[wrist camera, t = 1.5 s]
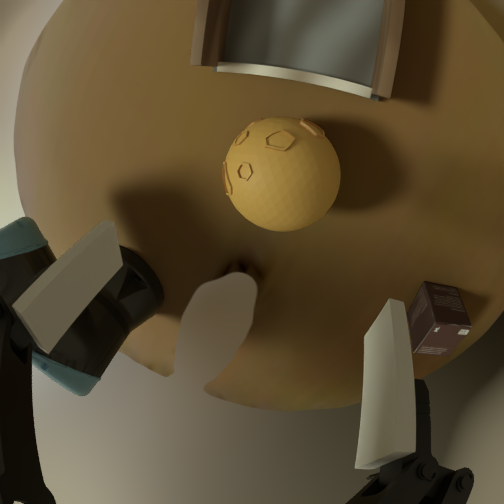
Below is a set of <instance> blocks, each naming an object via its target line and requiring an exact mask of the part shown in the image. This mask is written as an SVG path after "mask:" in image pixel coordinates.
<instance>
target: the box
mask: <svg viewBox="0 0 504 504" xmlns="http://www.w3.org/2000/svg"><path fill="white" fill-rule="evenodd" d="M407 315H408V320H409V327H410V332H411V339H412V346H413V353H414V354H424V355H435V356H447V357H449V355H450V354H451V353H452V352H453V351H454V349H455V348H456V347H457V346H458V344H459V343H460V342H461V341H462V339H463V338H464V337H465V336H466V334H467V333H468V332H469V330H470V329H471V327H472V326H471V323H470V321H469V317H468V315H467V312H466V309H465V307H464V304H463V302H462V299H461V297H460V294H459V292H458V289H457V288H454V287H449V286H444V285H438V284H433V283H428V282H423V284H422V286H421V288H420V290H419V292H418V294H417V296H416V297H415V299H414V301H413V303H412V305H411V307H410V308H409V310H408V312H407Z"/></svg>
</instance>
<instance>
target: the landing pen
mask: <svg viewBox="0 0 504 504" xmlns="http://www.w3.org/2000/svg"><path fill="white" fill-rule="evenodd" d="M404 9H405V0H198V4H197V10H196V17H195V24H194V32H193V40H192V49H191V59H190V65H194V66H212V67H213V71H219V72H234V73H245V74H255V75H263V76H271V77H278V78H284V79H290V80H296V81H302V82H307V83H312V84H316V85H321V86H325V87H330V88H334V89H338V90H342V91H346V92H349V93H353V94H357V95H360V96H363V97H367V98H370V99H373V100H377V101H378V99H379V96H380V97H385V98H389V99H390V96H391V92H392V87H393V82H394V77H395V71H396V66H397V60H398V54H399V48H400V42H401V35H402V27H403V19H404Z"/></svg>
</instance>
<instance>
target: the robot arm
mask: <svg viewBox="0 0 504 504" xmlns="http://www.w3.org/2000/svg"><path fill="white" fill-rule="evenodd" d="M162 303H163V291H162V287H161V285H160V282H159V280H158V279H157V277H156V275H155V274H154V272H153V271H152V270H151V269H150V267H149V266H148V265H147V264H146V263H145V262H144V261H143V260H142V259H141V258H139V257H138V256H137V255H135V254H134V253H132V252H131V251H129V250H127V249H125V248H123V247H120V246H119V242H118V236H117V230H116V224H115V222H112V221H108V220H105V219H104V220H103V221H102V222H100V223H99V224H98V225H97V226H96V227H94V228H93V229H92V230H91V231H89V232H88V233H87V234H86V235H85V236H84V237H82V238H81V239H80V240H79V241H78V242H77V243H75V244H74V245H73V246H72V247H71V248H70V249H69V250H67V251H66V252H65V253H64V254H63V255H62V256H61V257H60V258H59V259H58V260H57V259H56V257H55V256H54V254H53V252H52V250H51V249H50V247H49V245H48V241H47V240H46V239H45V238H44V236H43V235H42V233H41V231H40V230H39V228H38V226H37V224H36V223H35V221H34V220H33V219H31V218H29V217H22V218H19V219H18V220H15V221H14V222H12V223H10V224H8V225H7V226H5V227H3V228H1V229H0V504H13V503H14V501H18V502H21V503H24V504H56V502H55V499H54V496H53V495H52V493H51V492H50V491H49V489H48V488H47V487H46V485H45V483H44V480H43V476H42V471H41V467H40V461H39V456H38V450H37V444H36V436H35V428H34V417H33V405H32V404H33V403H32V364H33V365H34V366H35V367H37V368H38V369H39V370H40V371H41V372H43V373H44V374H45V375H47V376H48V377H49V378H51V379H52V380H54V381H55V382H56V383H58V384H59V385H61V386H62V387H64V388H65V389H67V390H69V391H70V392H72V393H74V394H76V395H78V396H85V395H87V394H89V393H90V391H91V390H92V388H93V387H94V386H95V385H96V383H97V382H98V381H100V379H101V376H102V374H103V373H104V371H105V369H106V368H107V367H108V365H109V363H110V362H111V360H112V359H113V357H114V356H115V354H116V353H117V351H118V350H119V348H120V347H121V345H122V344H123V342H124V341H125V339H126V338H127V336H128V335H129V334H130V332H131V331H132V330H134V329H135V328H137V327H138V326H140V325H141V324H142V323H144V322H145V321H146V320H148V319H149V318H151V317H153V316H154V315H155V314H156V312H157V311H158V309H159V308H160V307H161V305H162ZM429 404H430V402H429V391H428V389H427V387H426V384H425V382H424V380H420V379H414V372H413V362H412V353H411V344H410V337H409V330H408V323H407V317H406V311H405V306H404V302H402V301H398V300H395V299H391V298H389V299H388V301H387V302H386V304H385V306H384V307H383V309H382V310H381V312H380V314H379V315H378V317H377V318H376V320H375V321H374V323H373V324H372V326H371V327H370V329H369V330H368V332H367V333H366V335H365V336H364V376H363V396H362V410H361V423H360V432H359V441H358V450H357V457H356V463H355V468H356V469H375V468H377V467H380V472H379V473H376V474H373V475H370V476H369V477H367V478H366V479H367V480H369V479H372V480H371V481H370V482H369V483H368V484H367V485H366V486H364V487H363V488H362V489H361V490H360V491H359V492H358V493H357V494H356V495H355V496H354V497H353V498H351V499H350V500H349V501H348V502H347V503H346V504H466V502H467V500H468V498H469V495H470V493H471V490H472V487H473V483H474V475H473V473H472V471H471V470H470V469H469V468H462V469H459V470H456V471H454V470H451V469H447V468H445V467H442V466H439V465H438V462H437V460H436V459H435V458H434V457H433V456H432V454H431V421H430V416H429V415H430V406H429Z"/></svg>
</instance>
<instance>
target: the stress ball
mask: <svg viewBox="0 0 504 504" xmlns="http://www.w3.org/2000/svg"><path fill="white" fill-rule="evenodd" d="M222 175H223V183H224V187H225V192H226V195H229V197H230V199H231V201H232V203H233V204H234V206H235V207H236V209H237V210H238V211H239V212H240V213H241V214H242V215H243V216H244V217H245V218H246V219H247V220H249V221H251V222H252V223H254V224H255V225H258V226H260V227H262V228H265V229H268V230H273V231H293V230H298V229H301V228H304V227H307V226H309V225H311V224H313V223H314V222H316V221H317V220H319V219H320V218H321V217H322V216H323V215H324V214H325V213H326V212H327V211H328V210H329V209H330V207H331V206H332V204H333V203H334V201H335V198H336V196H337V194H338V190H339V187H340V179H341V170H340V163H339V159H338V156H337V154H336V151H335V149H334V147H333V145H332V144H331V143H330V141H329V140H328V138H327V137H326V136H325V132H324V130H323V129H321V128H320V127H319V126H318V125H316V124H315V123H313V122H311V121H309V120H307V119H305V118H301V120H299V119H296V118H290V117H273V118H268V119H259V120H257V121H254V122H253V123H251V124H250V125H249V126H248V127H247V128H246V129H245V130H244V131H243V132H242V133H241V134H240V135H239V136H238V137H237V138H236V139H235V141H234V142H233V144H232V146H231V147H230V149H229V152H228V154H227V157H226V161H225V162H223V169H222Z"/></svg>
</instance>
